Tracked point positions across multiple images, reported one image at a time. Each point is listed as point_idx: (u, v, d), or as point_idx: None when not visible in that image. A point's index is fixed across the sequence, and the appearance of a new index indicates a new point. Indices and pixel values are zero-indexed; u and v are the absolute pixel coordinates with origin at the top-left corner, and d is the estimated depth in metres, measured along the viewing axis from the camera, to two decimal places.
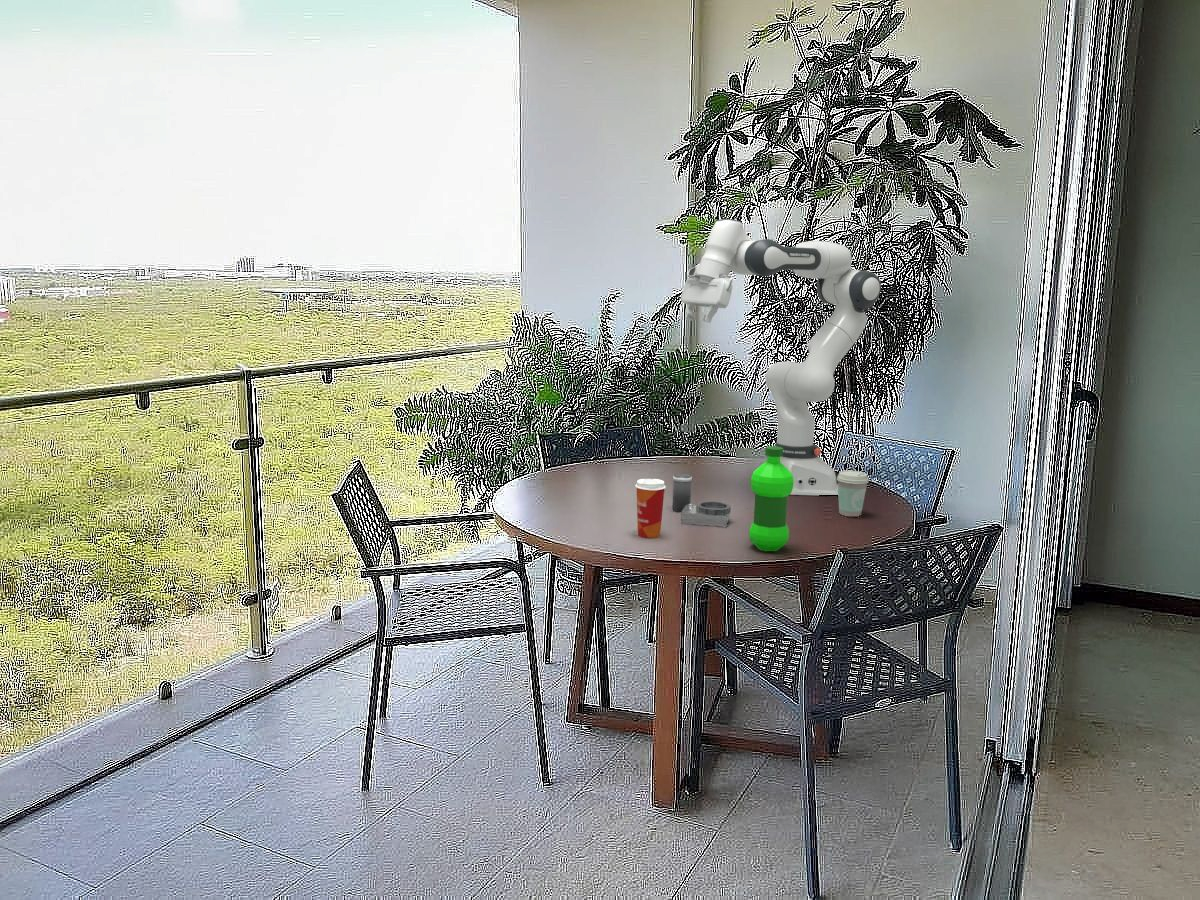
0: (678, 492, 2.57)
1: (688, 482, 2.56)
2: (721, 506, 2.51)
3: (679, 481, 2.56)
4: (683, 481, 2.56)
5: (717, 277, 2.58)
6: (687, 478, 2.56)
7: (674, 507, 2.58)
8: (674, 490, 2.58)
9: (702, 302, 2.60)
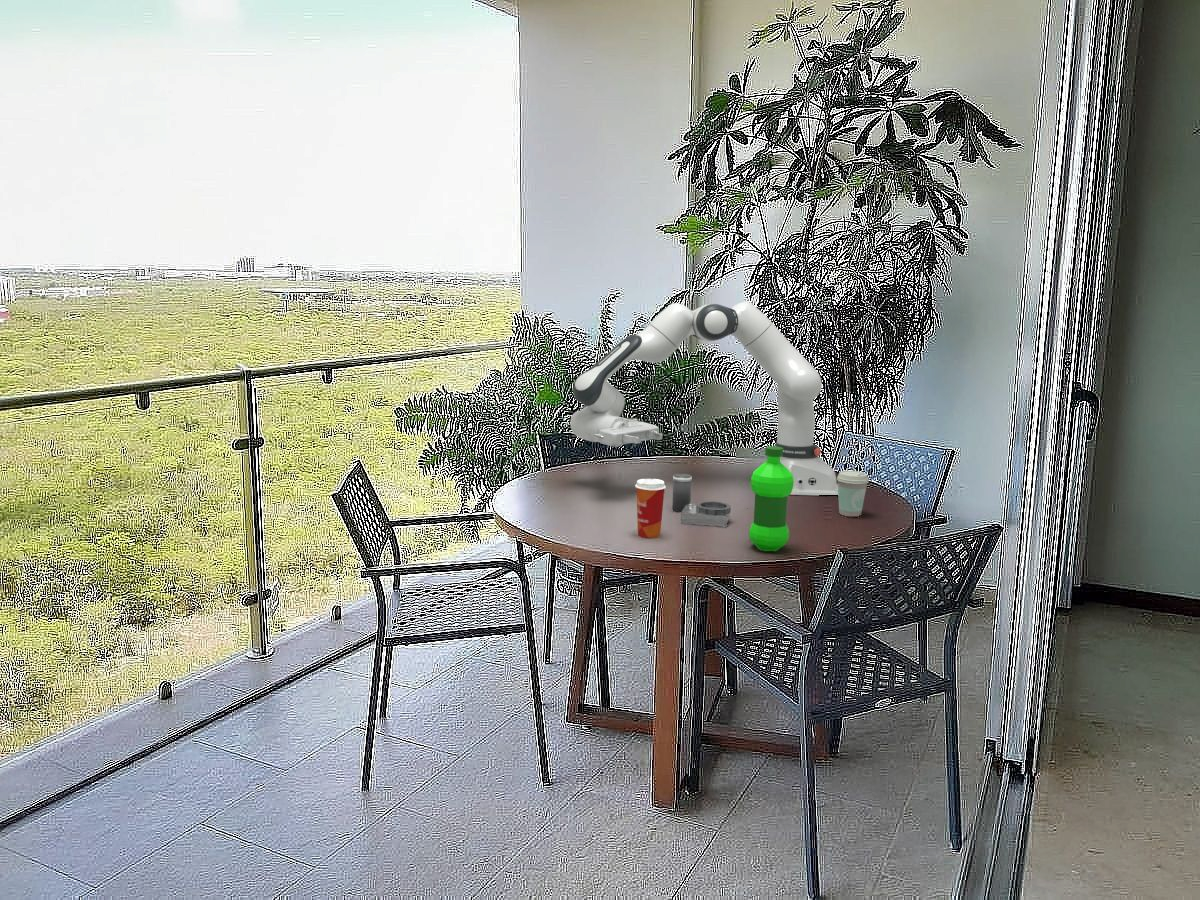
0: (678, 492, 2.57)
1: (688, 482, 2.56)
2: (721, 506, 2.51)
3: (679, 481, 2.56)
4: (683, 481, 2.56)
5: None
6: (687, 478, 2.56)
7: (674, 507, 2.58)
8: (674, 490, 2.58)
9: None
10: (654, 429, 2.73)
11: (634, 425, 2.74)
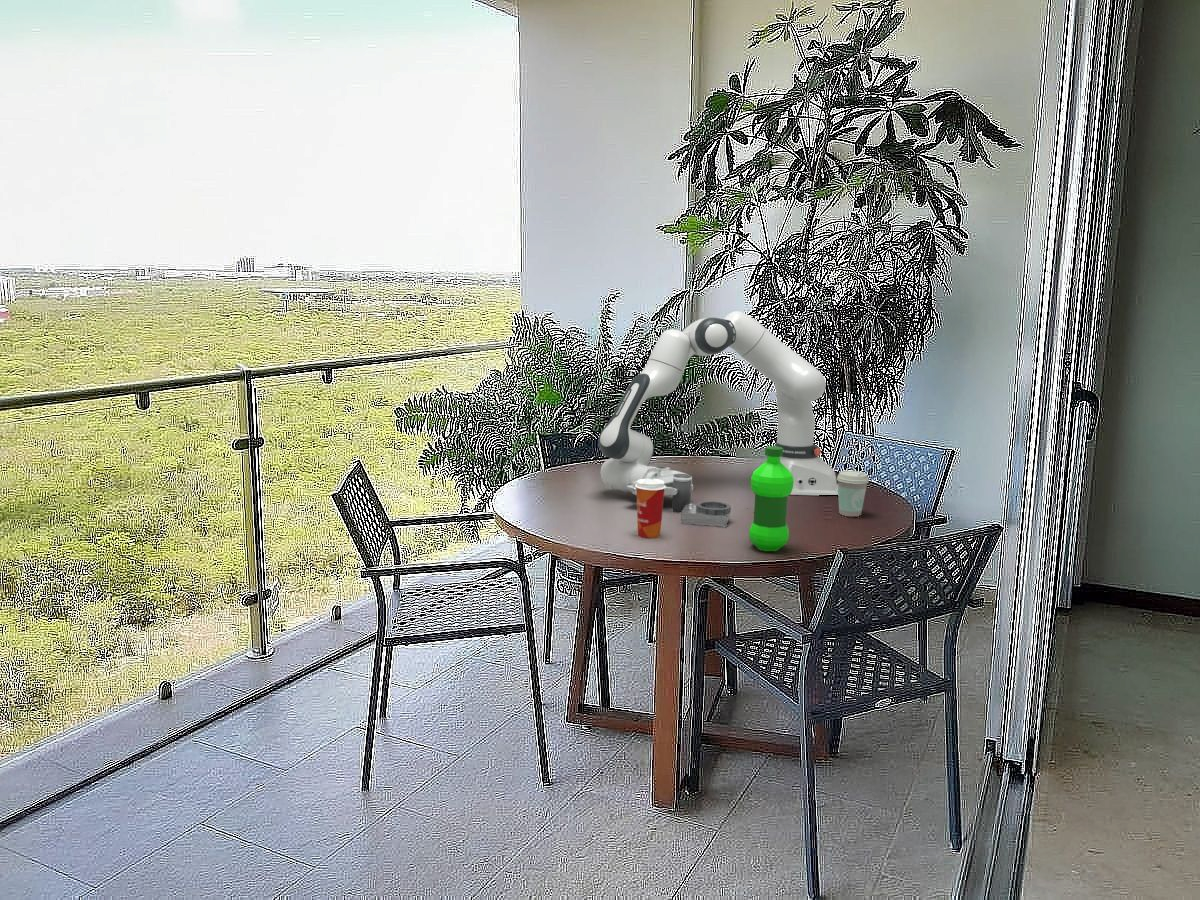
0: (678, 491, 2.57)
1: (688, 482, 2.56)
2: (721, 506, 2.51)
3: (679, 481, 2.56)
4: (683, 481, 2.56)
5: None
6: (687, 478, 2.56)
7: (674, 507, 2.58)
8: None
9: None
10: None
11: (667, 474, 2.68)
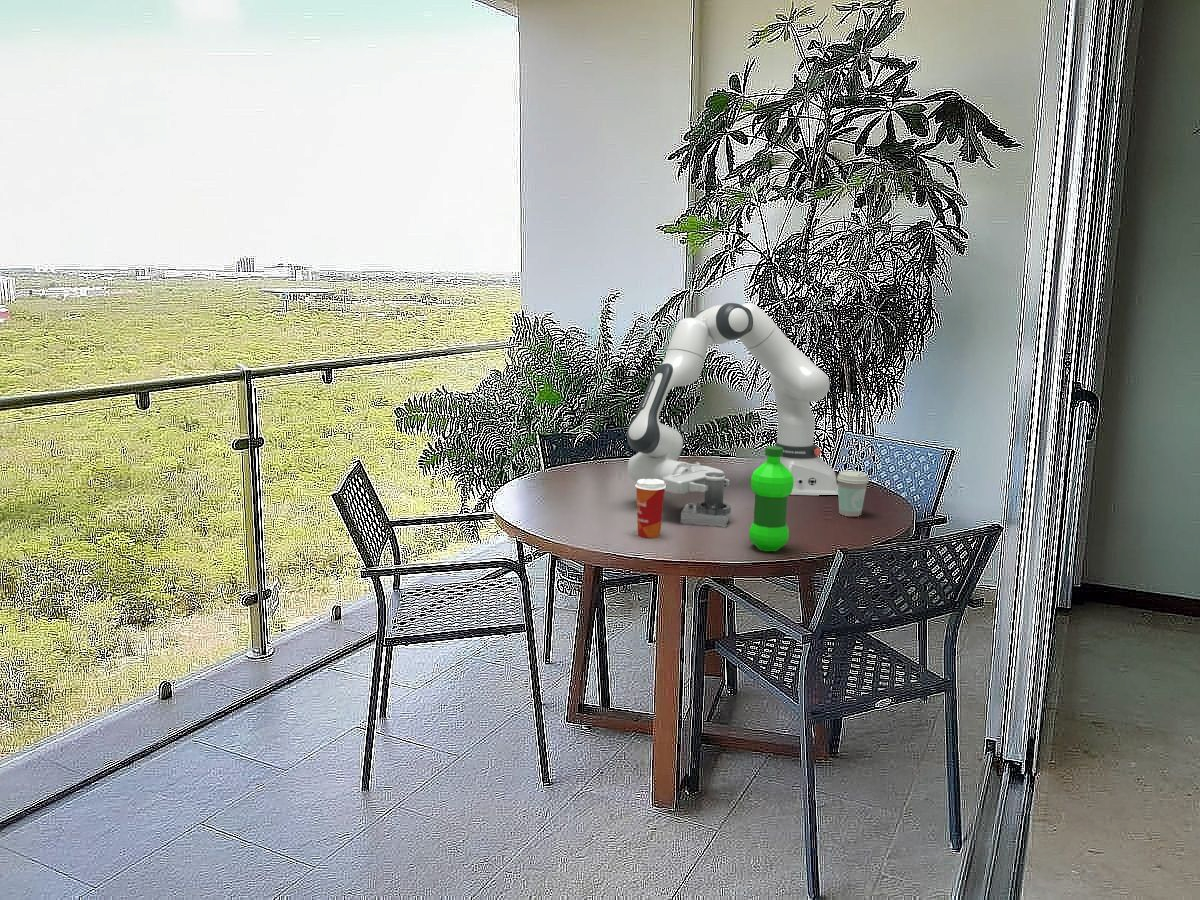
0: (711, 491, 2.45)
1: (721, 481, 2.45)
2: None
3: (712, 480, 2.45)
4: (716, 480, 2.44)
5: None
6: (720, 477, 2.45)
7: (706, 507, 2.47)
8: None
9: None
10: None
11: (697, 470, 2.57)
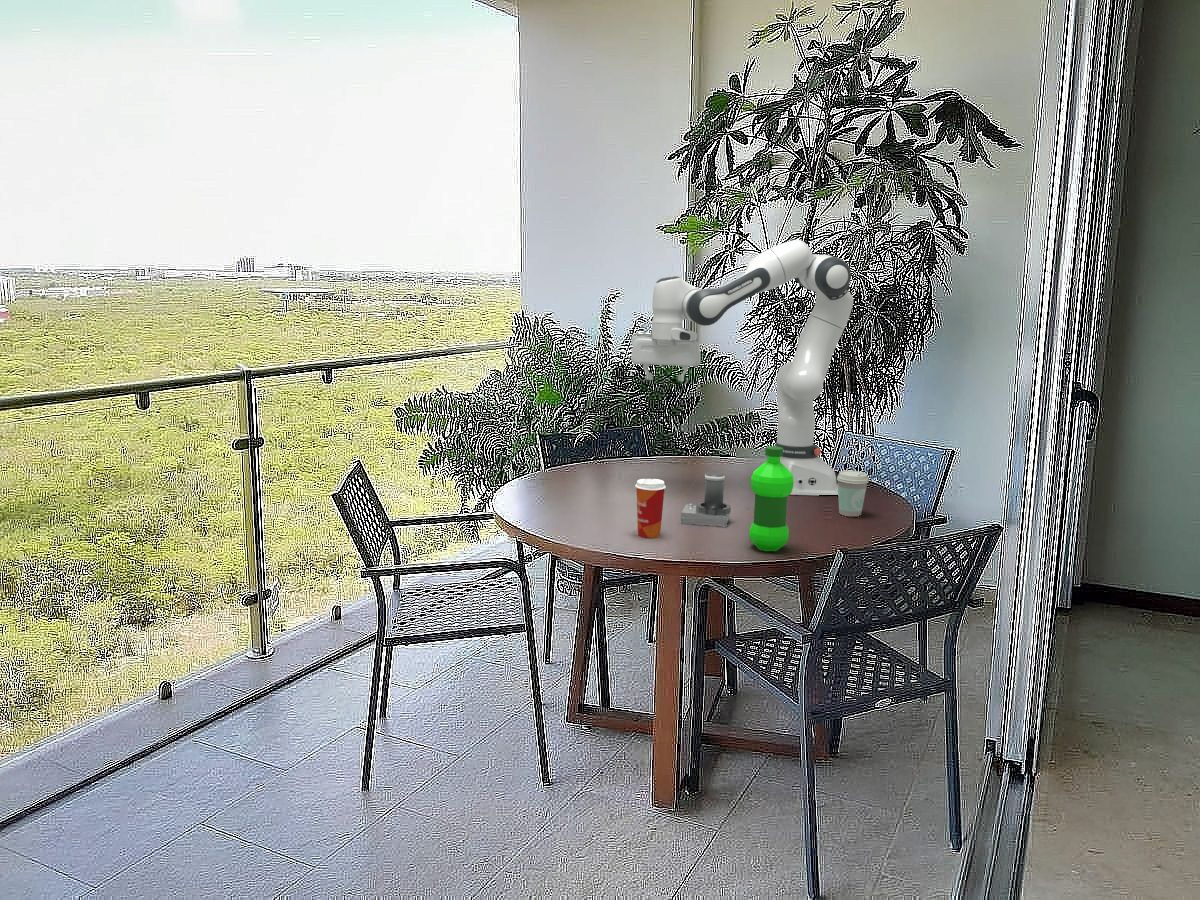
0: (711, 491, 2.45)
1: (721, 481, 2.45)
2: None
3: (711, 480, 2.45)
4: (716, 480, 2.44)
5: None
6: (720, 477, 2.45)
7: (706, 507, 2.47)
8: (706, 489, 2.46)
9: None
10: None
11: (681, 346, 2.68)
